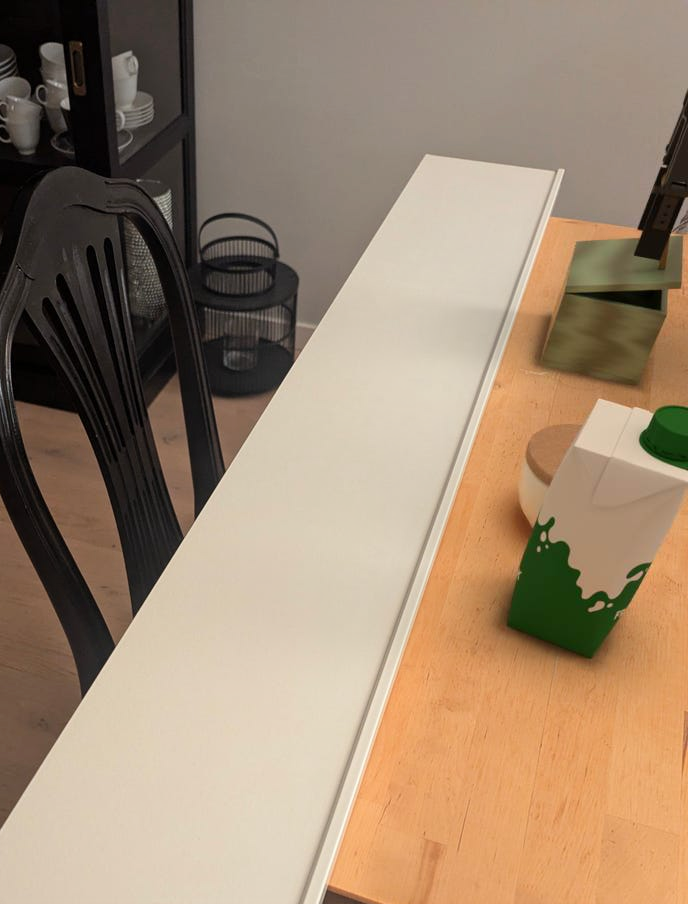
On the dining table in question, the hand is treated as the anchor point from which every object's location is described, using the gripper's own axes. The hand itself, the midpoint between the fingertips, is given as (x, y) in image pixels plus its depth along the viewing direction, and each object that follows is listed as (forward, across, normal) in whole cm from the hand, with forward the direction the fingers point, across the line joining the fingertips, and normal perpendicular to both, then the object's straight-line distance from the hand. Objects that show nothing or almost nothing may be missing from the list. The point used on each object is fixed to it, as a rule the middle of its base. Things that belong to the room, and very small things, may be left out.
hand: (648, 243), depth 101 cm
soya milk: (+13, +50, 0) cm, 52 cm away
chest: (+13, 0, -2) cm, 13 cm away
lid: (+3, 0, -1) cm, 3 cm away
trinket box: (+13, +37, -1) cm, 39 cm away
